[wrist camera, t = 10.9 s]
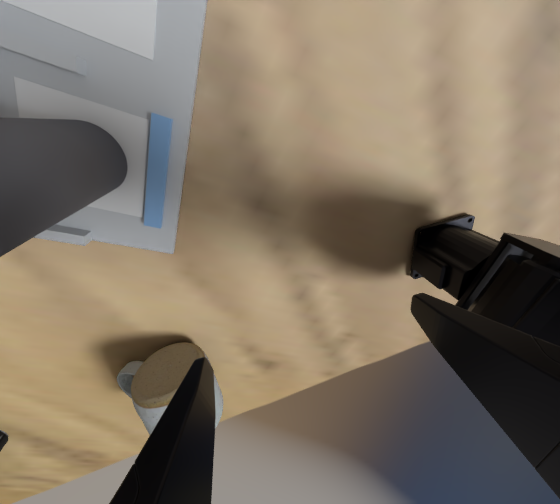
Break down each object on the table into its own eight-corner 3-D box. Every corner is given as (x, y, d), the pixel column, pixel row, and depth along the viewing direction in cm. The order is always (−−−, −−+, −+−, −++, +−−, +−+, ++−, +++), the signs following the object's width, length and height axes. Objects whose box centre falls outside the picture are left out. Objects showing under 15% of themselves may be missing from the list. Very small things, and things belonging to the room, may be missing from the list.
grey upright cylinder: (84, 104, 14) (-414, 33, 3) (142, 170, 17) (-26, 265, 5) (27, 145, 15) (-600, 210, 4) (92, 204, 17) (-161, 357, 6)
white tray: (-135, -416, 8) (-278, -630, 5) (228, -157, 11) (227, -225, 9) (-2, 220, 17) (-36, 234, 15) (174, 251, 21) (167, 265, 18)
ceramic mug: (208, 330, 26) (199, 401, 19) (225, 374, 30) (222, 446, 23) (108, 350, 25) (61, 433, 18) (139, 394, 29) (110, 474, 22)
